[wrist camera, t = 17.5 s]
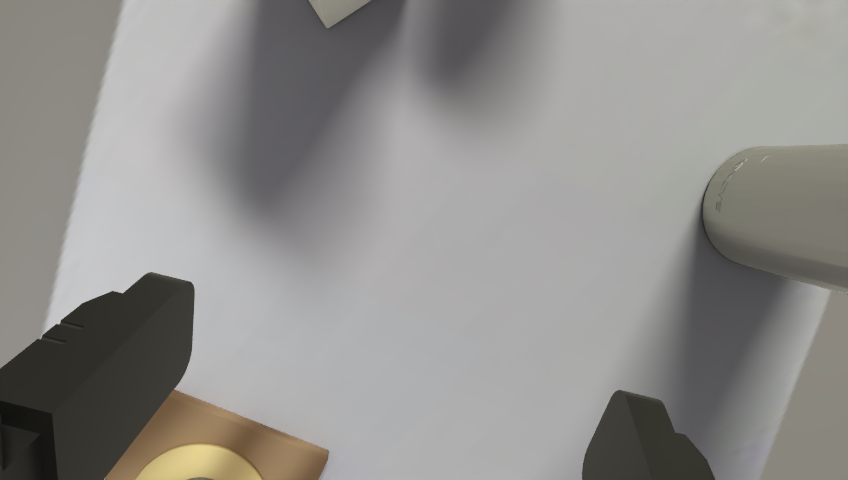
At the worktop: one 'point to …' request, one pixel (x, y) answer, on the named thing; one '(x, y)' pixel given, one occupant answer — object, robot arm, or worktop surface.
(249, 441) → the post base
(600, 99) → the worktop surface
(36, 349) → the robot arm
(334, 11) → the milk carton
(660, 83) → the worktop surface
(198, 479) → the grey rounded cylinder
